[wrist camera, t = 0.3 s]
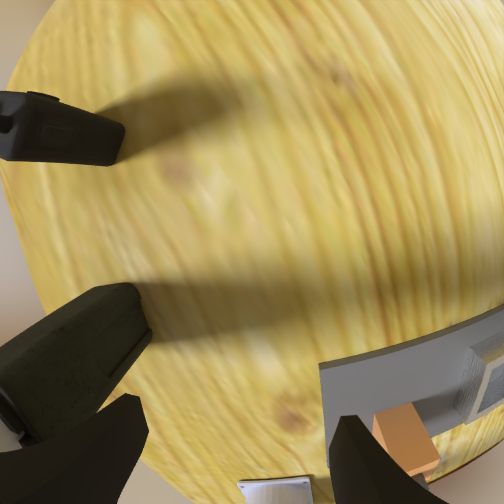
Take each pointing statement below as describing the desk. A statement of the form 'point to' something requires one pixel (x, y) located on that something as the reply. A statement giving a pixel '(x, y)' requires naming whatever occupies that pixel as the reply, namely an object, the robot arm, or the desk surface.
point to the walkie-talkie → (55, 131)
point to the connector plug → (407, 441)
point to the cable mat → (406, 377)
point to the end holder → (481, 379)
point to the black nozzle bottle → (68, 364)
